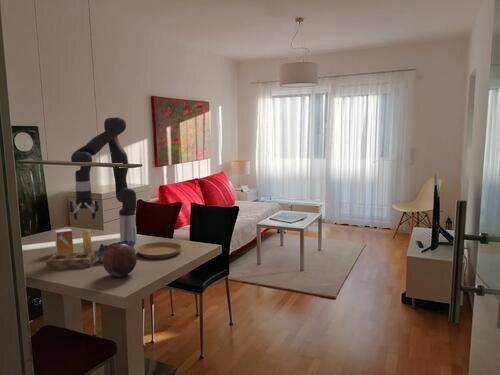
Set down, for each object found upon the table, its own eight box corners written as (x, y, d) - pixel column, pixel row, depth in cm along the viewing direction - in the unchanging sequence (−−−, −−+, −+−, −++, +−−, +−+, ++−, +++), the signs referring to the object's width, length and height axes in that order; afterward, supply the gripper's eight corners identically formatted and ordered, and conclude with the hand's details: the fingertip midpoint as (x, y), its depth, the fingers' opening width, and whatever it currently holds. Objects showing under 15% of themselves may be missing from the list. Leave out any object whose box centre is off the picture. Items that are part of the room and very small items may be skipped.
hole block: (94, 259, 207) (94, 252, 207) (89, 267, 196) (89, 259, 195) (54, 261, 204) (53, 254, 203) (46, 269, 192) (45, 261, 192)
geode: (106, 265, 199) (103, 246, 198) (94, 264, 206) (91, 245, 205) (140, 254, 214) (137, 236, 213) (127, 253, 222) (124, 235, 221)
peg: (92, 254, 216) (91, 229, 214) (91, 257, 212) (89, 231, 210) (84, 255, 215) (83, 230, 213) (83, 257, 211) (81, 231, 209)
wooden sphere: (142, 271, 190) (141, 240, 188) (128, 282, 175) (126, 249, 173) (113, 269, 192) (112, 239, 190) (97, 280, 178) (95, 248, 176)
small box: (57, 255, 214) (56, 232, 212) (55, 252, 219) (54, 230, 218) (73, 253, 218) (72, 230, 217) (71, 250, 224) (70, 228, 222)
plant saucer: (188, 255, 215) (187, 249, 214) (144, 263, 202) (143, 256, 202) (172, 245, 235) (172, 239, 235) (132, 251, 223) (131, 245, 223)
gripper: (99, 188, 213) (100, 217, 216) (71, 188, 211) (73, 218, 213) (95, 190, 206) (97, 220, 208) (66, 190, 204) (68, 221, 206)
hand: (85, 219), depth 211 cm, fingers open, 8 cm apart
